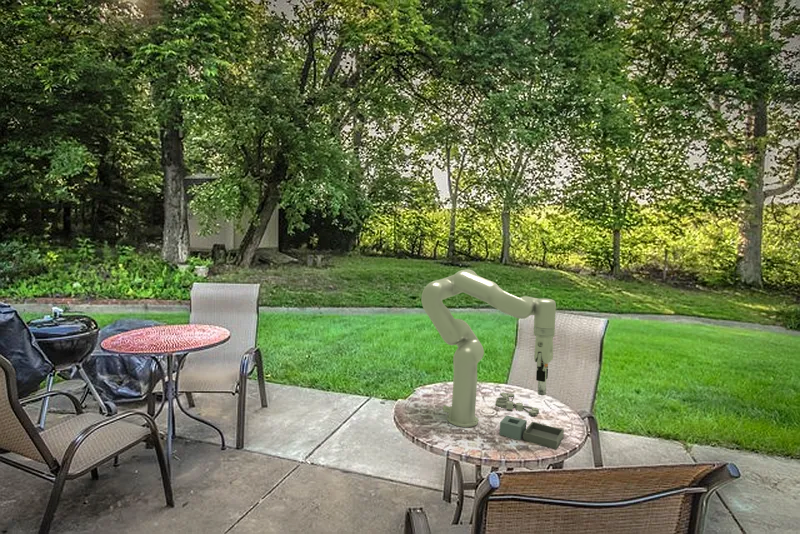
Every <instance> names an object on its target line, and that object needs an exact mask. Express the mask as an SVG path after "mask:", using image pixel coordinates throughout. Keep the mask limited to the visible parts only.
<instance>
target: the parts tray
mask: <svg viewBox="0 0 800 534" xmlns="http://www.w3.org/2000/svg"><path fill="white" fill-rule="evenodd" d="M564 431H565V430H564V429H563V428H558V427H555V426H551V425H546V424H542V423H540V422H539V423H538V422H536V421H531V422H530V423H529V425H528V426H526V430H525V431H524V433H523V437H522V441H525V442H529V443H532V444H536V445H539V446H543V447H546V448H550V449H554V450H557V449H558V448H559V446H560V443H561V442H562V440H563V439H564V433H565V432H564Z"/></svg>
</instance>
